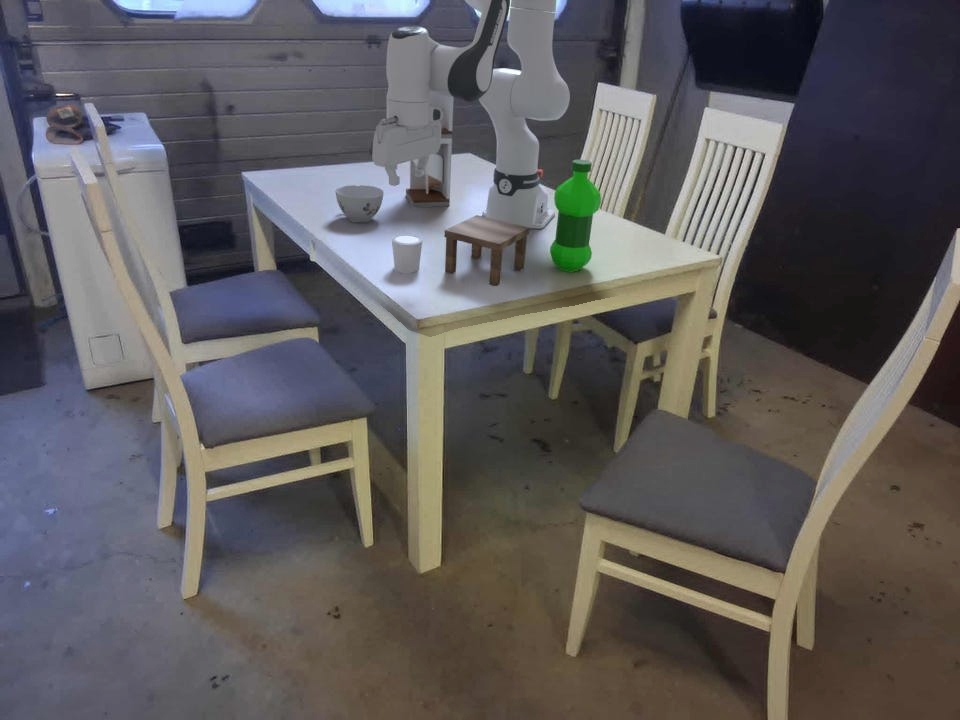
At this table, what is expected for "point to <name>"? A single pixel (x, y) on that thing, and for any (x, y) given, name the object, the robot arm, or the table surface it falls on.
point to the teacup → (359, 201)
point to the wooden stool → (486, 243)
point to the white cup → (406, 253)
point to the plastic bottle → (575, 218)
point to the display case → (435, 163)
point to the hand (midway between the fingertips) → (407, 180)
